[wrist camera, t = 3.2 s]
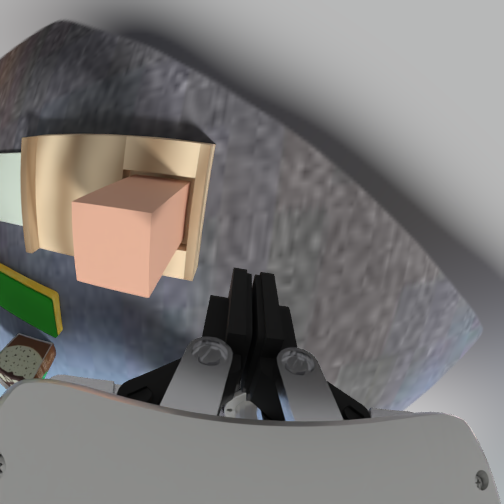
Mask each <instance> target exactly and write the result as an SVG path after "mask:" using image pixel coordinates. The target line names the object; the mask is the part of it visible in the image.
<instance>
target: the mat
mask: <svg viewBox="0 0 504 504" xmlns="http://www.w3.org/2000/svg"><path fill="white" fill-rule="evenodd" d="M20 168H21V152H18V153H0V221H3V222H7V223H12V224H16V225H21V226H23V221H22V209H21V184H20Z"/></svg>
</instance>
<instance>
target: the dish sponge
mask: <svg viewBox="0 0 504 504" xmlns="http://www.w3.org/2000/svg"><path fill="white" fill-rule="evenodd" d="M0 306H1V307H3V308H4V309H6V310H7V311H9V312H10V313H12V314H14V315H15V316H17V317H19V318H20V319H22V320H24V321H25V322H27V323H29V324H31V325H32V326H34V327H36V328H38V329H39V330H41V331H43V332H45V333H47V334H49V335H51V336H53V337H55V338H56V337H57V336H58V335H59V334H60V332H61V331H62V330H63V327H62V320H61V312H60V303H59V294H58V293H57V292H56V291H54V290H52V289H49V288H47V287H45V286H43V285H41V284H39V283H37V282H35V281H33V280H31V279H29V278H27V277H25V276H23V275H21V274H20V273H18V272H16V271H14V270H12V269H10V268H8V267H7V266H5V265H3V264H1V263H0Z"/></svg>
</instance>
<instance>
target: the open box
mask: <svg viewBox="0 0 504 504" xmlns="http://www.w3.org/2000/svg"><path fill="white" fill-rule="evenodd" d="M215 145H216V144H211V143H204V142H196V141H188V140H180V139H170V138H160V137H148V136H134V135H115V134H47V135H39V136H31V137H24V138H22V144H21V168H20V184H21V209H22V221H23V231H24V240H25V247H26V252H28V253H33V252H35V251H36V250H38V249H39V248H42V249H46V250H50V251H54V252H58V253H62V254H66V255H71V256H74V246H73V232H72V201H74V200H76V199H78V198H80V197H82V196H84V195H87V194H89V193H91V192H93V191H96V190H98V189H100V188H103V187H105V186H107V185H110V184H112V183H114V182H117V181H119V180H122V179H124V178H127V177H129V176H132V175H135V174H138V175H146V176H155V177H162V178H170V179H177V180H184V181H191V184H190V191H189V199H188V206H187V215H186V223H185V233H184V238H183V240H182V242H181V243H180V245H179V247H178V248H177V250H176V252H175V253H174V255H173V257H172V258H171V260H170V262H169V264H168V265H167V267H166V269H165V270H164V272H163V274H162V275H164V276H169V277H174V278H180V279H185V280H190V281H192V280H193V277H194V275H195V272H196V269H197V267H198V259H199V251H200V243H201V235H202V228H203V220H204V213H205V206H206V199H207V193H208V186H209V180H210V174H211V168H212V162H213V156H214V150H215Z"/></svg>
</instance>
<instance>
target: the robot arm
mask: <svg viewBox="0 0 504 504" xmlns="http://www.w3.org/2000/svg"><path fill="white" fill-rule="evenodd" d="M240 381H241V390H240V391H238V388H239V384H240ZM237 391H238V392H237ZM235 392H236V393H235ZM223 405H225V406H224V414H225V417H224V416H219V415H220V411H221V407H222V406H223ZM0 504H501V502H500V498H499V495H498V491H497V488H496V484H495V481H494V478H493V476H492V472H491V470H490V467H489V464H488V462H487V459H486V457H485V455H484V452H483V450H482V448H481V446H480V443H479V441H478V440H477V438H476V436H475V434H474V432H473V431H472V429H471V428H470V426H469V425H468V423H467V422H466V421H465V420H463V419H462V418H460V417H458V416H455V415H452V414H446V413H439V412H421V413H413V412H408V411H396V410H386V409H377V408H370V409H369V410H367V409H366V408H365V407H364V406H363V405H362V404H360V403H359V402H357V401H356V400H354V399H353V398H351V397H350V396H348V395H347V394H345V393H344V392H342V391H341V390H339V389H338V388H336V387H335V386H333V385H332V384H330V383H329V382H328V381H326V378H325V376H324V374H323V372H322V369H321V367H320V365H319V363H318V361H317V359H316V358H315V356H313V355H312V354H311V353H310V352H308V351H306V350H304V349H301V348H297V344H296V339H295V334H294V329H293V324H292V319H291V314H290V309H289V307H286V306H279V302H278V295H277V289H276V283H275V276H274V274H270V273H264V272H261V273H260V275H255V277H254V281H253V286H252V274H249V273H247V270H245V269H239V268H234V269H233V275H232V280H231V286H230V291H229V297H228V298H225V297H219V296H213V295H211V296H210V301H209V305H208V310H207V315H206V320H205V325H204V330H203V335H202V337H199V338H196V339H194V340H193V341H191V342H190V343H189V345H188V346H187V348H186V350H185V353H184V355H183V357H182V358H180V359H178V360H176V361H174V362H171V363H169V364H167V365H165V366H162V367H160V368H158V369H155V370H153V371H150V372H148V373H146V374H143V375H141V376H138V377H136V378H133V379H131V380H128V381H127V382H125V383H123V384H122V385H117V384H114V381H107V380H98V379H89V378H82V377H75V376H69V375H56V376H53V377H52V378H50V379H39V378H35V379H25V380H21V381H18V382H16V383H15V384H13V385H11V386H10V387H9V388H8V389H7V390H6V391H5V392H4V393H3V394H2V396H1V397H0Z"/></svg>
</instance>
